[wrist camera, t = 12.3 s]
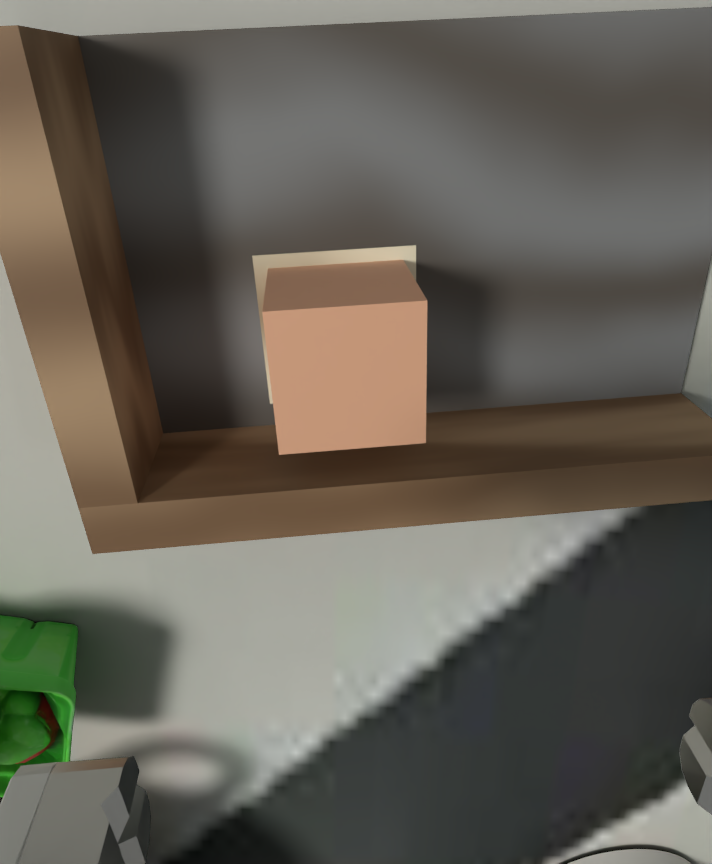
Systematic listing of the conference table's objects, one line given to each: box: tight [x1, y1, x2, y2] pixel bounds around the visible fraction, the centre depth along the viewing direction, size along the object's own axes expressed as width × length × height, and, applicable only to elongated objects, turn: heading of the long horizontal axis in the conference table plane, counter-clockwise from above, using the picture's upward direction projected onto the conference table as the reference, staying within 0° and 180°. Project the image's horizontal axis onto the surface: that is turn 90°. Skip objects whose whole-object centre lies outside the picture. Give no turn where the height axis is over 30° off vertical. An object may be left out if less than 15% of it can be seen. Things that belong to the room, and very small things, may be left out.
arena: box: [0, 7, 712, 554], centre depth 22 cm, size 16×24×6 cm, turn 93°
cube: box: [262, 260, 427, 455], centre depth 23 cm, size 5×5×5 cm
